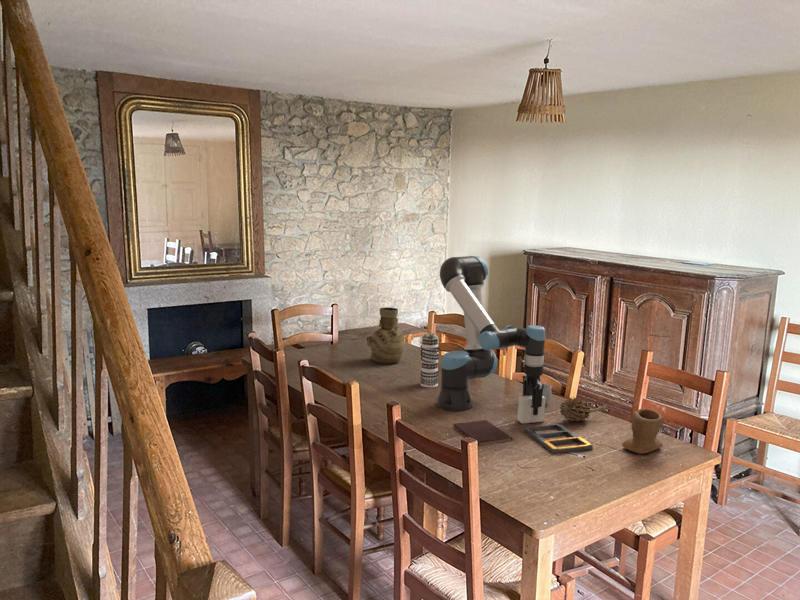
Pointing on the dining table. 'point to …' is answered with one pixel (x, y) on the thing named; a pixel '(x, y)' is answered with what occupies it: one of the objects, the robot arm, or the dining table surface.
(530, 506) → the dining table surface
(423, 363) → the decorative candle
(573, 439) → the frame
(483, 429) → the notebook
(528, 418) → the panel
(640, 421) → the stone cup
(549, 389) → the teacup
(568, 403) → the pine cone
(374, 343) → the ceramic vessel
